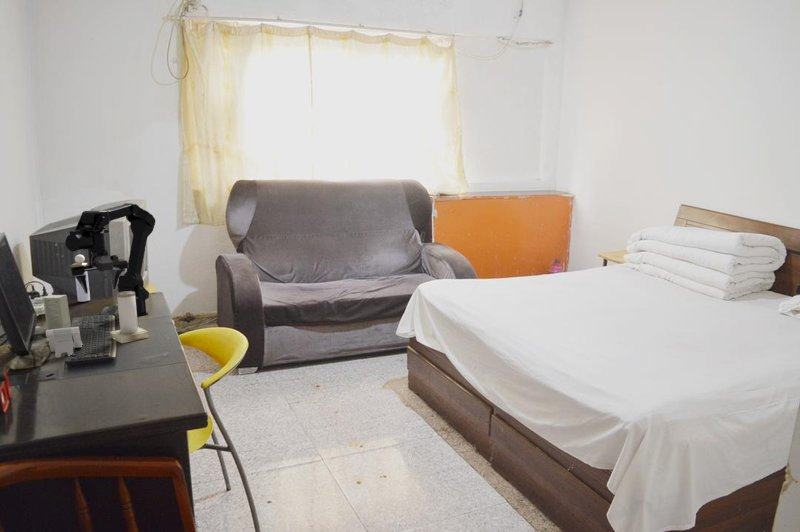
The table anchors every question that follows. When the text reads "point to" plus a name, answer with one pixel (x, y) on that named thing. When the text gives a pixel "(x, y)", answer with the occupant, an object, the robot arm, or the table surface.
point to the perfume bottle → (80, 292)
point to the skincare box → (56, 312)
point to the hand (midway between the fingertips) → (100, 291)
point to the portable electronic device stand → (63, 340)
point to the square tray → (130, 335)
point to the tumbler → (127, 312)
